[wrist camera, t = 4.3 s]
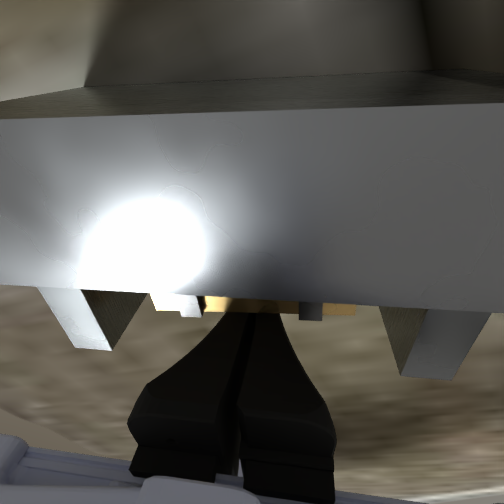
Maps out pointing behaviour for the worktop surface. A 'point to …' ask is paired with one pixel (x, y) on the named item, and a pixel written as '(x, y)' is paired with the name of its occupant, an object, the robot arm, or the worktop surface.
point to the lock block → (247, 306)
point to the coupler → (264, 201)
